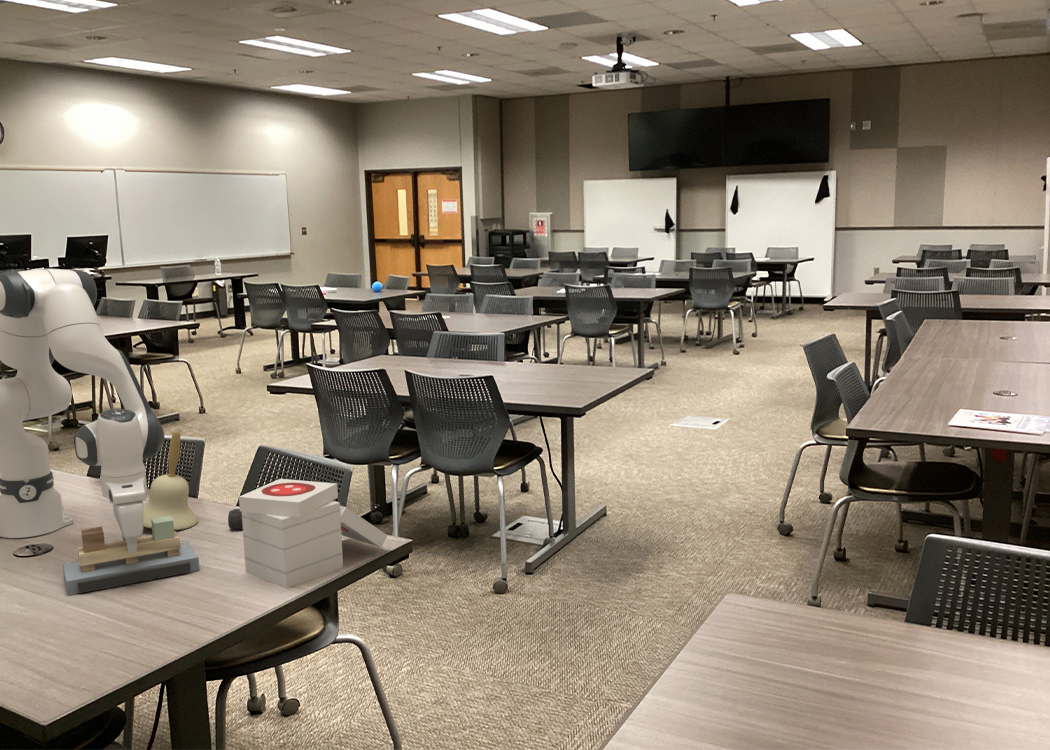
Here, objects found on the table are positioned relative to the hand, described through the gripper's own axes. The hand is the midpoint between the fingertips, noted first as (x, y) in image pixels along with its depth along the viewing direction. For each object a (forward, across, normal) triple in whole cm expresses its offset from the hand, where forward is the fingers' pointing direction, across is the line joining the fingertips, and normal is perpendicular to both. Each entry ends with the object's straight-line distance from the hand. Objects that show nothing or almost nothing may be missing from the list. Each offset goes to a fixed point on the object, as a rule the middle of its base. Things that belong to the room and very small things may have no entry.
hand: (129, 546), depth 198 cm
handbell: (+6, -32, +12) cm, 35 cm away
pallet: (+3, 0, 0) cm, 3 cm away
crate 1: (-1, 0, -7) cm, 7 cm away
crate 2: (-1, 0, +7) cm, 7 cm away
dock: (+6, 0, 0) cm, 6 cm away
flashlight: (+6, -16, +32) cm, 37 cm away
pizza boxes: (+6, +15, +36) cm, 40 cm away
